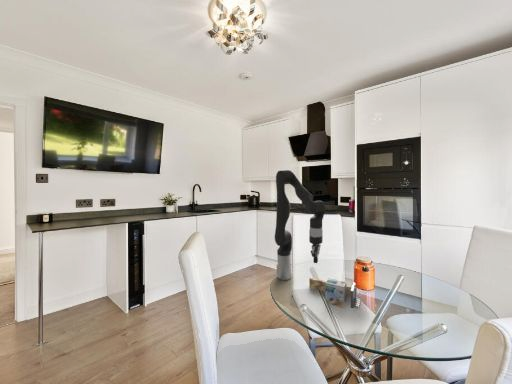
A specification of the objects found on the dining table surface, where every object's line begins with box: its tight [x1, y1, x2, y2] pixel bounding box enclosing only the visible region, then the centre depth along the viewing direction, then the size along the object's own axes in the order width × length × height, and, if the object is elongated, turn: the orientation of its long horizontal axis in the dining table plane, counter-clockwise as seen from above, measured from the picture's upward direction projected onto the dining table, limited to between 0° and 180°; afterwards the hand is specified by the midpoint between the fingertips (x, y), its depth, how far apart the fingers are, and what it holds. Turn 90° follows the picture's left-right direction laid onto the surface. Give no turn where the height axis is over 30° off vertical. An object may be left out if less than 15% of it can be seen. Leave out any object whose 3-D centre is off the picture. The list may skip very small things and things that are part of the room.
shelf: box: [308, 277, 358, 308], centre depth 146 cm, size 28×14×6 cm, turn 61°
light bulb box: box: [325, 278, 347, 304], centre depth 143 cm, size 11×7×11 cm, turn 60°
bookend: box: [350, 282, 361, 309], centre depth 138 cm, size 4×10×10 cm, turn 151°
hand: (315, 262), depth 147 cm, fingers closed
